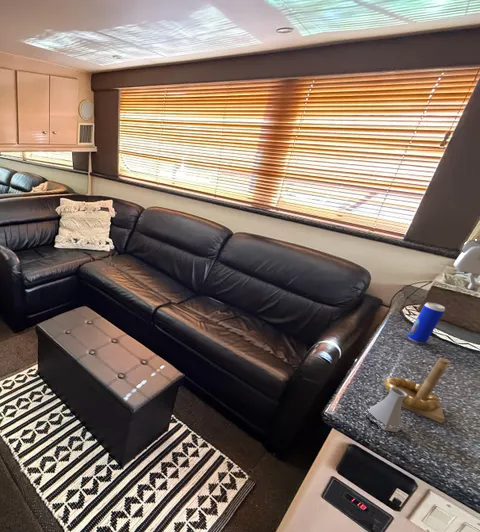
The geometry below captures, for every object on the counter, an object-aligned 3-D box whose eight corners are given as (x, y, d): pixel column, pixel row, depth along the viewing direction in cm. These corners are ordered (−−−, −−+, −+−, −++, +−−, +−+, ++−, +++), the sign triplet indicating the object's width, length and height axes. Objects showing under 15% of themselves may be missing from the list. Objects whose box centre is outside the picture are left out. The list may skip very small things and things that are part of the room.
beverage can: (407, 334, 123) (426, 300, 117) (425, 340, 119) (446, 306, 114) (406, 339, 120) (425, 304, 114) (425, 345, 116) (446, 310, 110)
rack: (436, 403, 89) (465, 359, 83) (442, 423, 83) (474, 377, 77) (394, 387, 95) (418, 344, 89) (396, 405, 88) (423, 360, 82)
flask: (378, 408, 86) (395, 380, 83) (408, 431, 80) (427, 401, 76) (356, 411, 85) (372, 382, 81) (384, 434, 79) (403, 404, 75)
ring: (433, 395, 90) (437, 388, 89) (441, 419, 82) (446, 413, 81) (381, 376, 97) (385, 370, 96) (384, 397, 88) (388, 390, 87)
